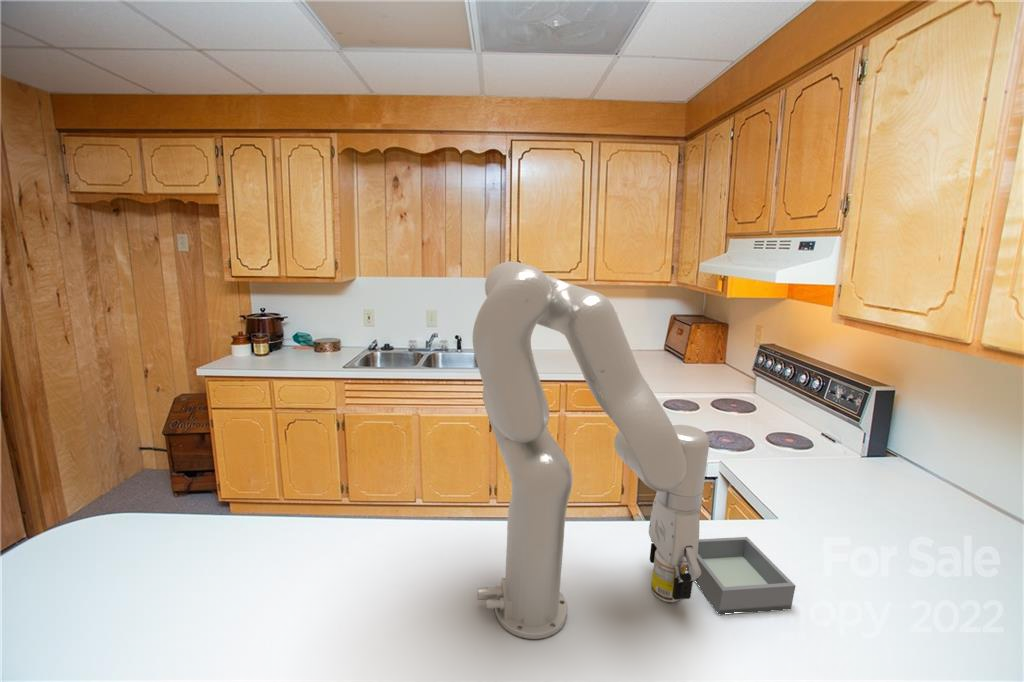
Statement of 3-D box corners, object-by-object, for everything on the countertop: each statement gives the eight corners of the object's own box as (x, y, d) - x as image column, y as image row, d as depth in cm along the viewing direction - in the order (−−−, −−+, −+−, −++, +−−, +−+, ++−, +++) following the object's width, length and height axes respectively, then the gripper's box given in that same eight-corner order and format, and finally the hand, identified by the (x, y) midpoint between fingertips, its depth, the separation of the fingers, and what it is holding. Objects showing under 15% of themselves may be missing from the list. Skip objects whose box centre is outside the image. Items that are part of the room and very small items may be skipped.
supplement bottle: (673, 581, 91) (680, 534, 88) (687, 603, 85) (694, 553, 83) (646, 582, 90) (651, 535, 88) (657, 604, 85) (663, 554, 82)
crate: (718, 615, 83) (722, 590, 82) (680, 561, 96) (683, 540, 95) (790, 609, 85) (795, 585, 84) (743, 558, 98) (746, 536, 97)
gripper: (639, 471, 91) (631, 549, 95) (683, 525, 74) (671, 617, 78) (676, 470, 92) (666, 547, 96) (726, 522, 75) (713, 613, 79)
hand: (668, 578), depth 87 cm, fingers open, 9 cm apart
